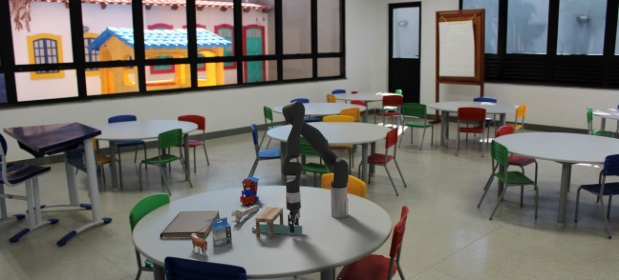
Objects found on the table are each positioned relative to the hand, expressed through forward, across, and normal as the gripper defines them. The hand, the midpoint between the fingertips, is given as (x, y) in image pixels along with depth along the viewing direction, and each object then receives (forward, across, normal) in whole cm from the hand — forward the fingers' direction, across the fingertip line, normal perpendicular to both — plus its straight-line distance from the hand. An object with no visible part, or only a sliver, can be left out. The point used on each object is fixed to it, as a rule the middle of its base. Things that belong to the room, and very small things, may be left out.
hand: (294, 229), depth 277 cm
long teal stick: (+2, 0, -8) cm, 8 cm away
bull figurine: (+2, +31, -40) cm, 50 cm away
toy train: (+2, -46, -42) cm, 62 cm away
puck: (+2, 0, -21) cm, 21 cm away
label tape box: (+2, +19, -32) cm, 38 cm away
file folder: (+3, 0, -59) cm, 59 cm away
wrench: (+3, -20, -34) cm, 40 cm away
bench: (+2, 0, -13) cm, 14 cm away
